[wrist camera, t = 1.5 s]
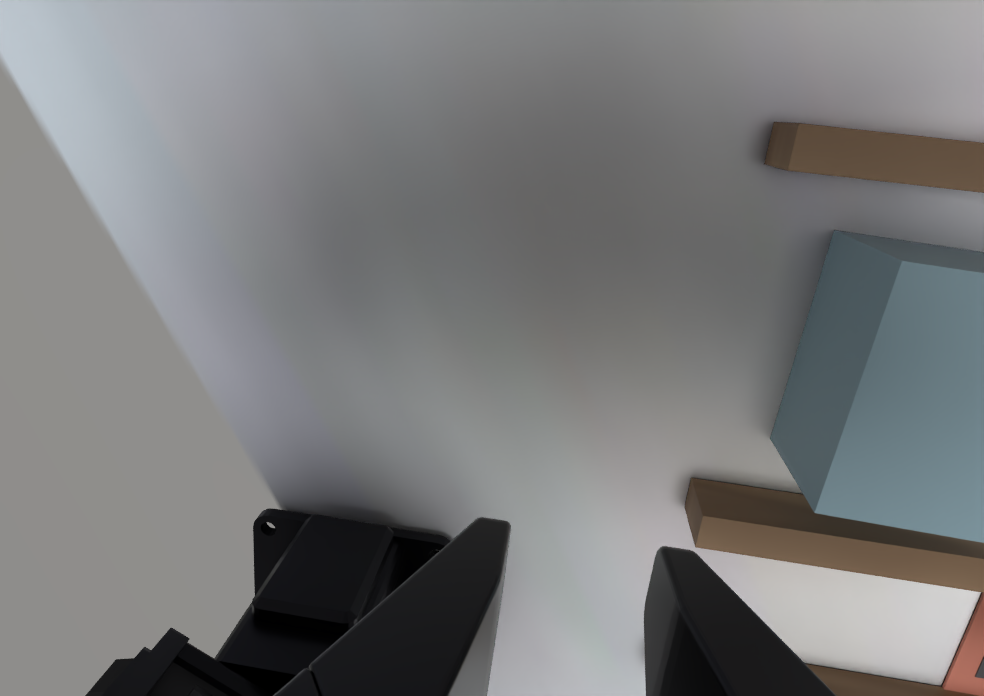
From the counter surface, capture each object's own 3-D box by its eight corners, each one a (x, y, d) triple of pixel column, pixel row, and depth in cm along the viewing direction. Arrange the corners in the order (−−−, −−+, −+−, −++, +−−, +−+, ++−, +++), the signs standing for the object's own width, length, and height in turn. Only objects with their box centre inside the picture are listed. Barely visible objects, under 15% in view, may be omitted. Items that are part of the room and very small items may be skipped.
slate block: (983, 472, 19) (1084, 560, 15) (768, 435, 19) (814, 513, 16) (1074, 264, 17) (1216, 308, 13) (831, 229, 17) (902, 260, 14)
